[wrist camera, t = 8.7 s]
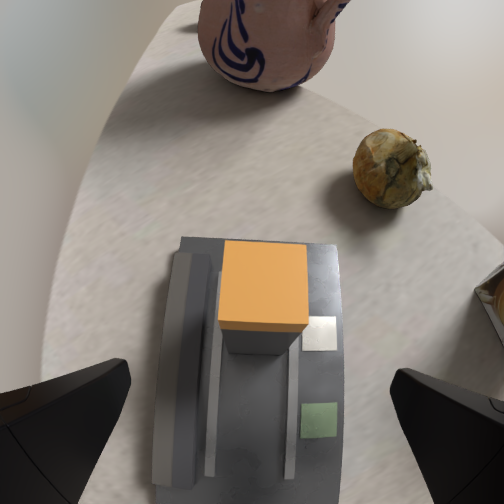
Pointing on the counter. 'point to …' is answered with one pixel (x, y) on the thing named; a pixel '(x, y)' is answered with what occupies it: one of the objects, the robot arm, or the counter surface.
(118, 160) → the counter surface
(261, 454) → the panel
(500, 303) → the coffee box
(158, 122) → the counter surface
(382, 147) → the onion
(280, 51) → the ceramic pitcher
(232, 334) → the lever
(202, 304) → the long gray beam
